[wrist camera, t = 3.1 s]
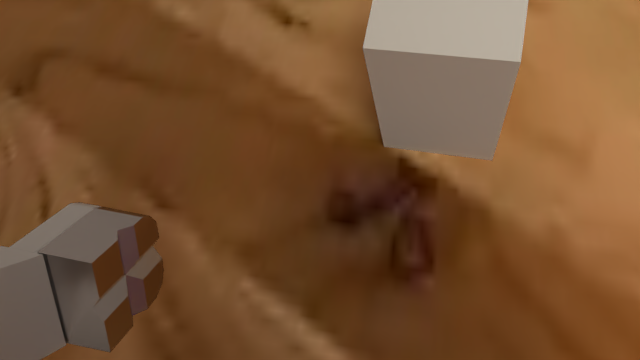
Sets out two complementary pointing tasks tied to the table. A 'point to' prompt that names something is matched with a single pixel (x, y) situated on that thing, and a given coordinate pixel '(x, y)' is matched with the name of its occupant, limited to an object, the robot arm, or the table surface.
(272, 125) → the table surface
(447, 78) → the cream block
